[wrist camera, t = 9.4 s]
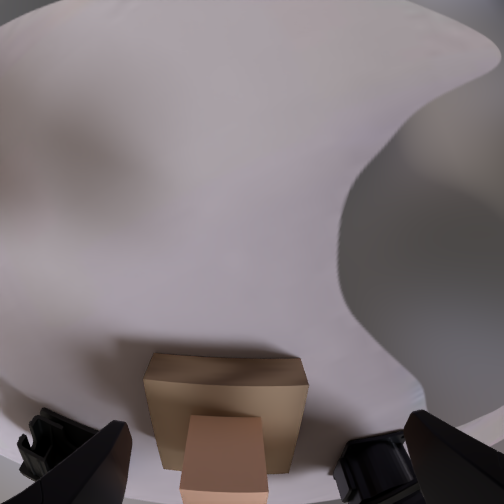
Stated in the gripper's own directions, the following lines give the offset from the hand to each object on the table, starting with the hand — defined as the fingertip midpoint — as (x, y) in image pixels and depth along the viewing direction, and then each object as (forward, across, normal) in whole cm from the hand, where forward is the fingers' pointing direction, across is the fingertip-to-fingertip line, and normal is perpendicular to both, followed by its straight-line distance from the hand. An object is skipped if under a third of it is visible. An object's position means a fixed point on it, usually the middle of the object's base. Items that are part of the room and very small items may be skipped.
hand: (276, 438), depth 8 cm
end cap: (+12, +16, +18) cm, 27 cm away
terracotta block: (+8, +2, +10) cm, 13 cm away
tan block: (+11, +2, +10) cm, 15 cm away
